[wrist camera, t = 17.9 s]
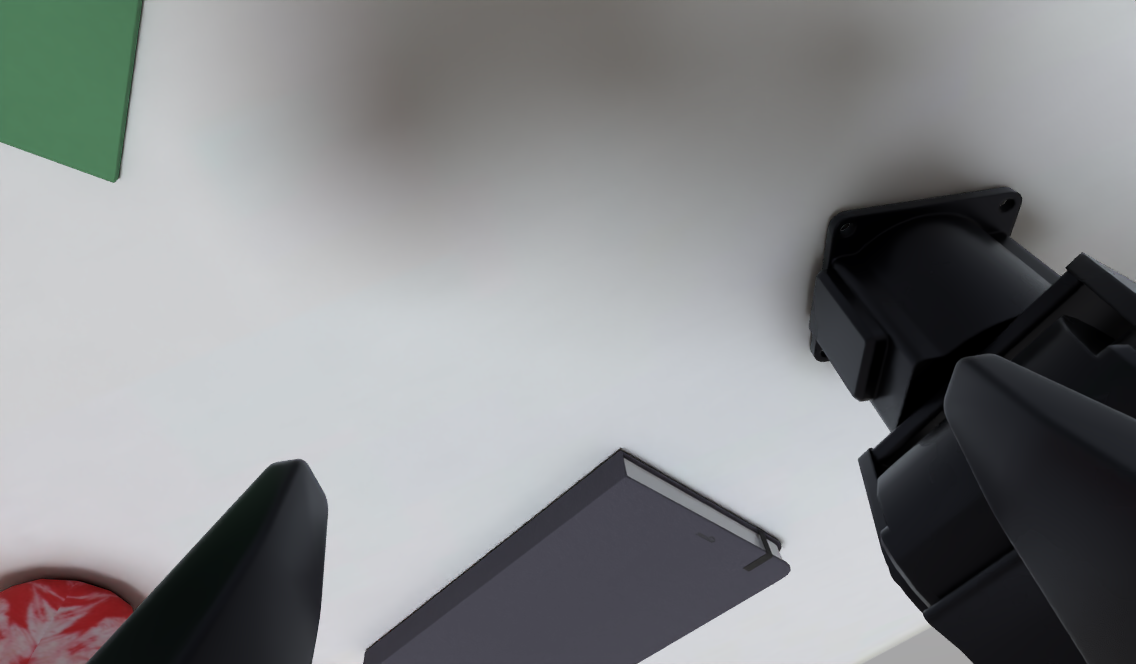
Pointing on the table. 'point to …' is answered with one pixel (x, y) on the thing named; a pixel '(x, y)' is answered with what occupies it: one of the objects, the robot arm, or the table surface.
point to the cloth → (68, 79)
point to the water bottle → (57, 621)
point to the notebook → (594, 579)
